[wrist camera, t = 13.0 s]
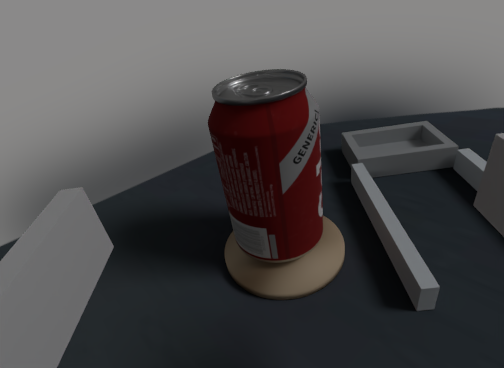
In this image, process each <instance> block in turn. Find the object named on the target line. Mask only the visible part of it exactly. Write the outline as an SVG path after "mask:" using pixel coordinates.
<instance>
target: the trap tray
mask: <svg viewBox="0 0 504 368" xmlns="http://www.w3.org/2000/svg"><path fill="white" fill-rule="evenodd" d="M457 150H458V146H457V145H456V144H455V143H454V142H452V141H451V140H450V139H449V138H448V137H446V136H445V135H444V134H443V133H441V132H440V131H439V130H438V129H436V128H435V127H434V126H433V125H431V124H430V123H429V122H428V121H423V122H416V123H409V124H402V125H395V126H388V127H381V128H374V129H367V130H360V131H353V132H345V133H342V152H343V154H344V156H345V158H346V160H347V162H348V163H349V165H350V167H351V164H357V163H363V165H364V166H365V168H366V169H367V171H368V173H369V174H370V176H371V177H372V178H373V177H381V176H389V175H396V174H404V173H411V172H419V171H427V170H434V169H442V168H450V167H454V163H455V159H456V154H457Z"/></svg>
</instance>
